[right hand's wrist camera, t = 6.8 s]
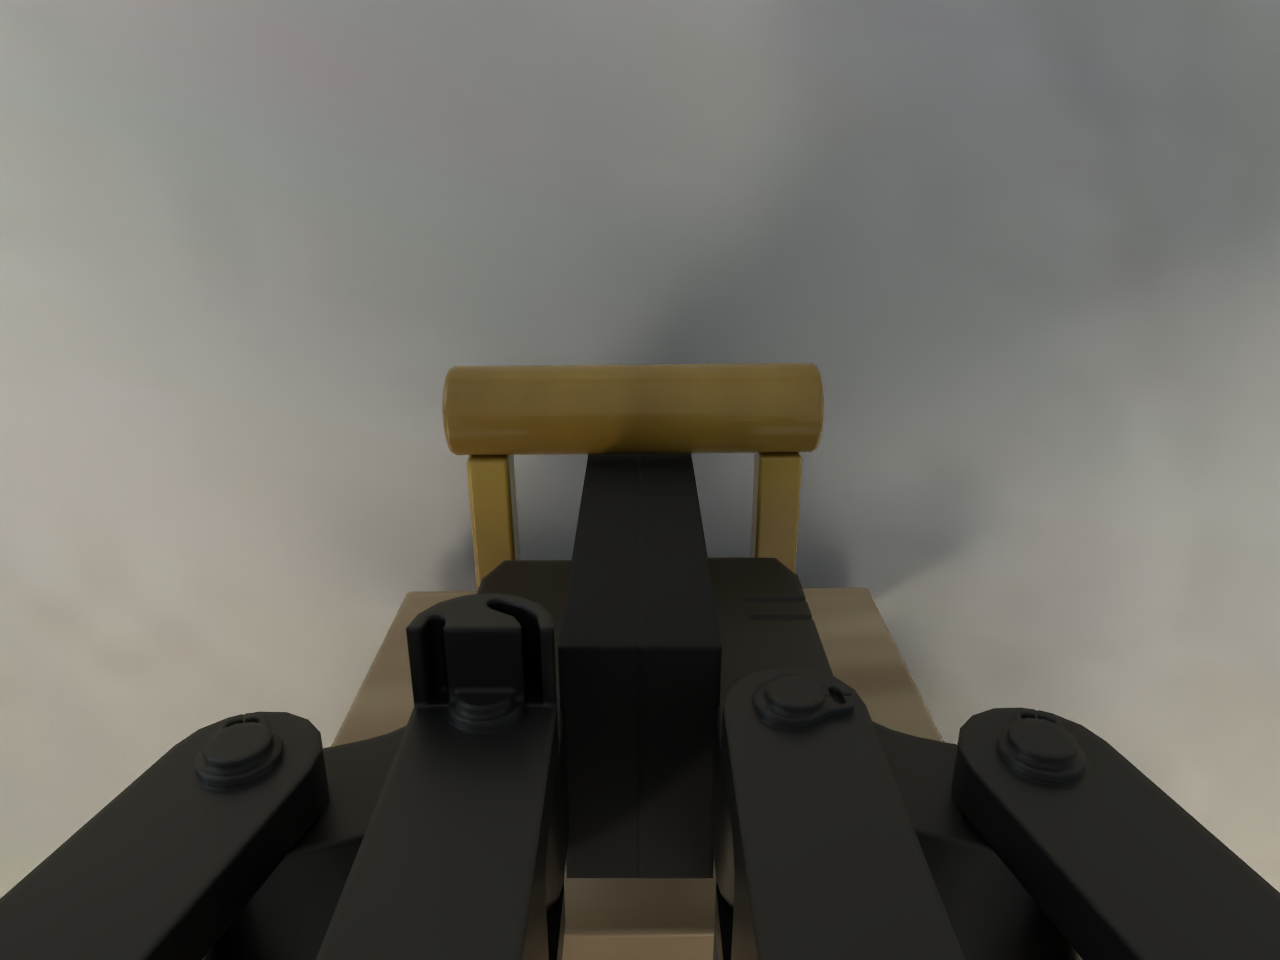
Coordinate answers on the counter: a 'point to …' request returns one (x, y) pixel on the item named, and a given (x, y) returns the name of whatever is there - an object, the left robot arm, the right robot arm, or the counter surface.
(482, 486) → the drawer
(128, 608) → the counter surface
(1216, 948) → the right robot arm
